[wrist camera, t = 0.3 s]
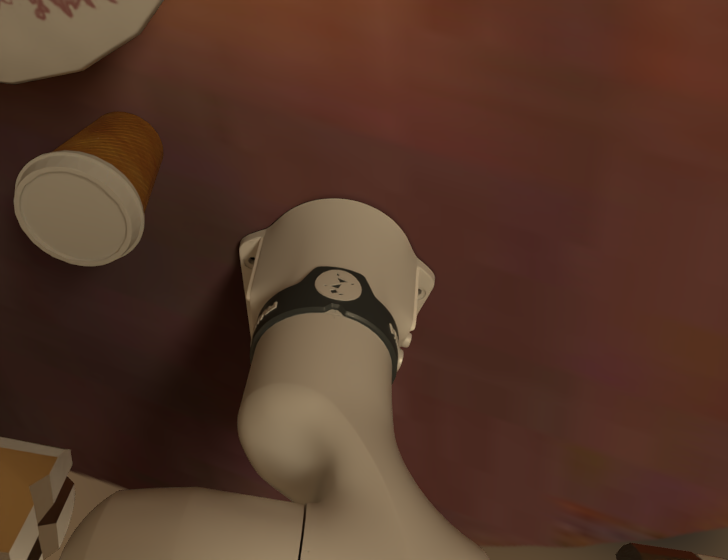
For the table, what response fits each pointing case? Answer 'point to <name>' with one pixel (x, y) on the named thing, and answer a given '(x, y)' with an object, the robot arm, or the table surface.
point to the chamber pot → (65, 34)
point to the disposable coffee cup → (91, 191)
